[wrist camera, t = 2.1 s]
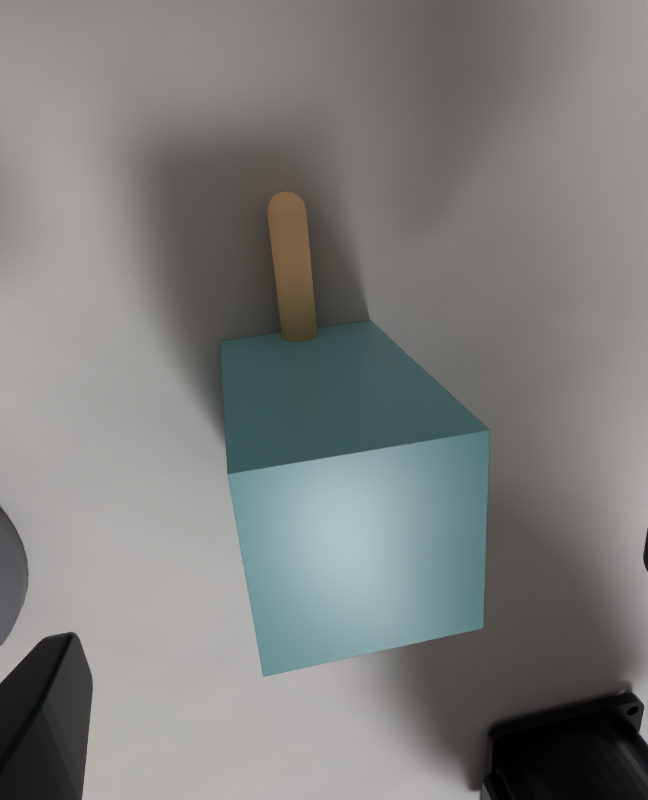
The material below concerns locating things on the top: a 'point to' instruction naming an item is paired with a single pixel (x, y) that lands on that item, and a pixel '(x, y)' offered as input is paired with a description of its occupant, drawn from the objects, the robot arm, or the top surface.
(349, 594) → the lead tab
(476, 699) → the top surface
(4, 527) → the spool
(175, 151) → the top surface
